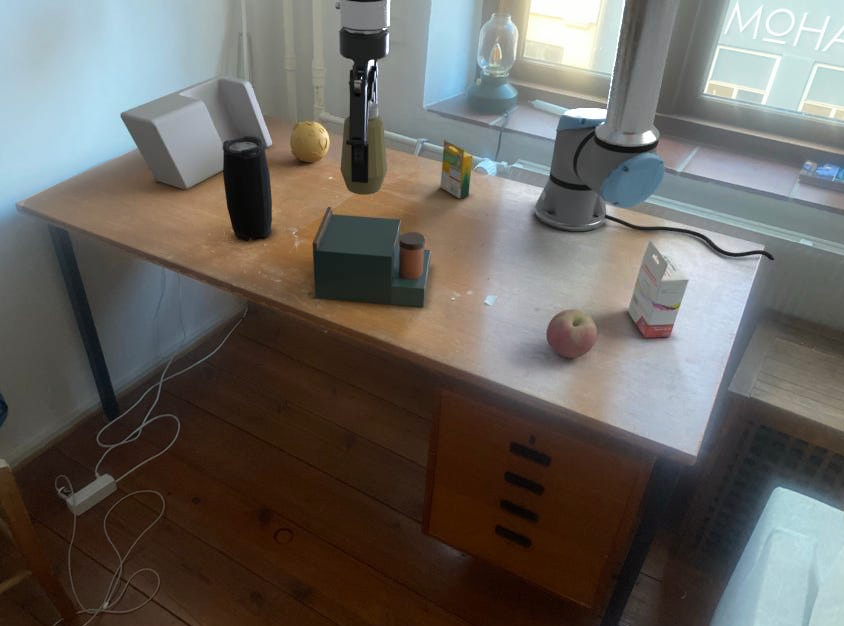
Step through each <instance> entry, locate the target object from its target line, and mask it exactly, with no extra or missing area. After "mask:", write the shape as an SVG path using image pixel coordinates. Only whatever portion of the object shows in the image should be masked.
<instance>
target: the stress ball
mask: <svg viewBox="0 0 844 626" xmlns="http://www.w3.org/2000/svg"><path fill="white" fill-rule="evenodd" d="M330 142H331V141H330V135H329V133H328V131H327V130H326V127H324V126H323V125H322V124H320V123H319V122H316V121H314V120H305V121H302V122H301V121H299V122H297V123H296V124H295V125H294V126H293V127H292V131H291V133H290V136H289V146H290V149H291V154H292V155H293V156H294V157H295V158H296V159H297V160H299V161H303V162H306V163H315V162H318V161H320V160H321V159H323V158H324V157H325V156H326V155H327V153H328V151H329V148H330Z"/></svg>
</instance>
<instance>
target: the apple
mask: <svg viewBox="0 0 844 626" xmlns="http://www.w3.org/2000/svg"><path fill="white" fill-rule="evenodd" d="M545 335H546V336H545V338H546V341H547V343H548V345H549V346H550V348H551V349H552V350H553V352H554V353H556V354H558V355H559V356H561V357H563V358H569V359H575V358H579V357H582V356H584V355H586V354H587V353H588V352H590V351H591V350H592V349H593V348H594V346H595V344H596V340H597V336H598V333H597V326H596V323H595V321H594V319H593V318H592V317H591V316H590V315H589V314H588V313H586V312H584V311H582V310H579V309H566V310H562V311H560V312H558V313H557V314H555V315H554V316H553V317H552V318H551V319H550V321H549V323H548V325H547V328H546V333H545Z"/></svg>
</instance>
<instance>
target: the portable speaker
mask: <svg viewBox="0 0 844 626" xmlns="http://www.w3.org/2000/svg"><path fill="white" fill-rule="evenodd" d="M222 148H223V151H224V155H223V171H222V177H223V186H224V194H225V201H226V209H227V213H228V216H229V219H230V223H231V224H230V225H231V228H232V231H233V233H234V236H235V237H236V239H237V240H239V241H243V242H246V243H248V242H249V241H251V240H252V239H255V238H261V237H262V238H264V239H269V237H270V236H271V235H272V223H273V200H272V199H273V198H272V186H271V173H270V168H269V164H268V160H267V155H266V150H265V149H266V148H264V146H263V143H262V141H261V139H259V138H257V137H252V136H245V137H243V138H239V139H234V140H227V141H225V142H224V143H223V146H222Z"/></svg>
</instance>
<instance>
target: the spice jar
mask: <svg viewBox="0 0 844 626" xmlns="http://www.w3.org/2000/svg"><path fill="white" fill-rule="evenodd" d="M399 245H400V249H399V274H400V276H402V277H403V278H406V279H416V278H419V277H421V276H422V274H423V258H424V250H425V245H426V237H425V235H423V234H422V233H420V232H417V231H407V232H403V233H402V234H400V237H399Z"/></svg>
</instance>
